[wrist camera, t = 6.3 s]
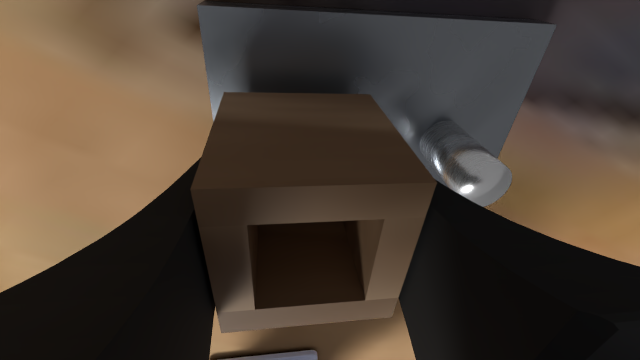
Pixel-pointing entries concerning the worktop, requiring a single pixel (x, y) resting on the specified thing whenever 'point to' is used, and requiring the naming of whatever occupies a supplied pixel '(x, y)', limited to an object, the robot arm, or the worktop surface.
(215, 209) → the hollow block
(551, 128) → the worktop surface
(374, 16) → the pin plate
